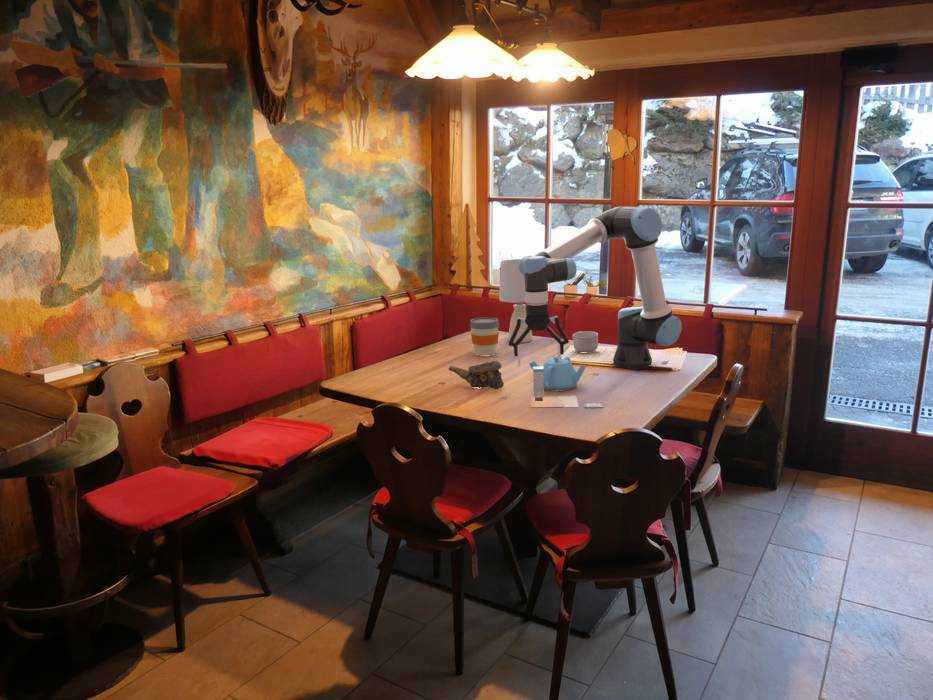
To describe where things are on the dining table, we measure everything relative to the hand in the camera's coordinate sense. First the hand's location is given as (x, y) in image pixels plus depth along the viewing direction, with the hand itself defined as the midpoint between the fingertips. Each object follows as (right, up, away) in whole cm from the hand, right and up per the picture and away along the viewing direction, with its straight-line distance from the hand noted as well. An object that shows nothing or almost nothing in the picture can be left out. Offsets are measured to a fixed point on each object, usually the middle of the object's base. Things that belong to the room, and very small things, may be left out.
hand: (539, 364), depth 259 cm
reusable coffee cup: (-17, +3, +72) cm, 74 cm away
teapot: (+8, -8, +20) cm, 23 cm away
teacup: (+26, +4, +71) cm, 76 cm away
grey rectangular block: (0, -12, +2) cm, 13 cm away
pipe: (-22, -9, +22) cm, 32 cm away
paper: (+5, -13, 0) cm, 14 cm away
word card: (+17, -14, -6) cm, 23 cm away
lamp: (0, +9, +95) cm, 96 cm away
